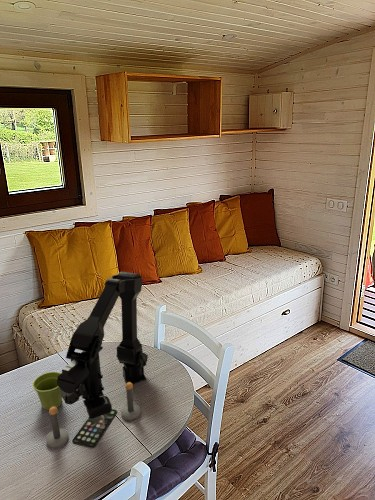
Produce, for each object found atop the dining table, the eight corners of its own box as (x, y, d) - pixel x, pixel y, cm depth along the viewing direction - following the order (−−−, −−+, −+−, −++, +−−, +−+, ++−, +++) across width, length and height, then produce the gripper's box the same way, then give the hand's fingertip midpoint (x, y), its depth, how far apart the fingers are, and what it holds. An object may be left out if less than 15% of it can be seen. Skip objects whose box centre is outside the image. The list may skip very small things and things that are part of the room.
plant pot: (57, 416, 117) (54, 392, 114) (30, 411, 118) (26, 388, 116) (72, 395, 125) (69, 373, 123) (46, 391, 127) (43, 370, 124)
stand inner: (136, 404, 122) (134, 374, 118) (143, 416, 116) (142, 385, 113) (118, 410, 119) (116, 380, 115) (124, 423, 114) (122, 392, 110)
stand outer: (66, 428, 112) (62, 397, 108) (70, 443, 107) (66, 410, 103) (44, 436, 109) (39, 404, 106) (48, 451, 104) (42, 418, 101)
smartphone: (118, 410, 119) (94, 447, 105) (118, 412, 119) (94, 449, 105) (97, 405, 121) (70, 441, 107) (97, 407, 121) (70, 443, 107)
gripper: (54, 360, 111) (60, 404, 116) (67, 400, 95) (73, 448, 100) (92, 350, 116) (96, 392, 121) (110, 386, 100) (114, 432, 105)
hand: (94, 414), depth 112 cm, fingers closed
